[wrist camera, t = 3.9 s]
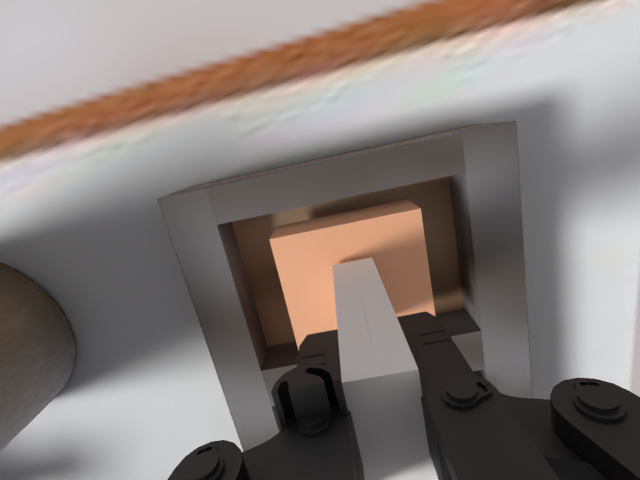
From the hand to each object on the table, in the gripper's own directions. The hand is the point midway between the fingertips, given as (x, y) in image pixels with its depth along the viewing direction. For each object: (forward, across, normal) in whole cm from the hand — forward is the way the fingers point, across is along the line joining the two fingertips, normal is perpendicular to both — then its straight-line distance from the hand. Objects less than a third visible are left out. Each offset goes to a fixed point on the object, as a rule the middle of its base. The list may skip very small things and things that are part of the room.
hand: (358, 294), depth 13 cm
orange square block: (+2, 0, 0) cm, 2 cm away
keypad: (+5, 0, +9) cm, 10 cm away
